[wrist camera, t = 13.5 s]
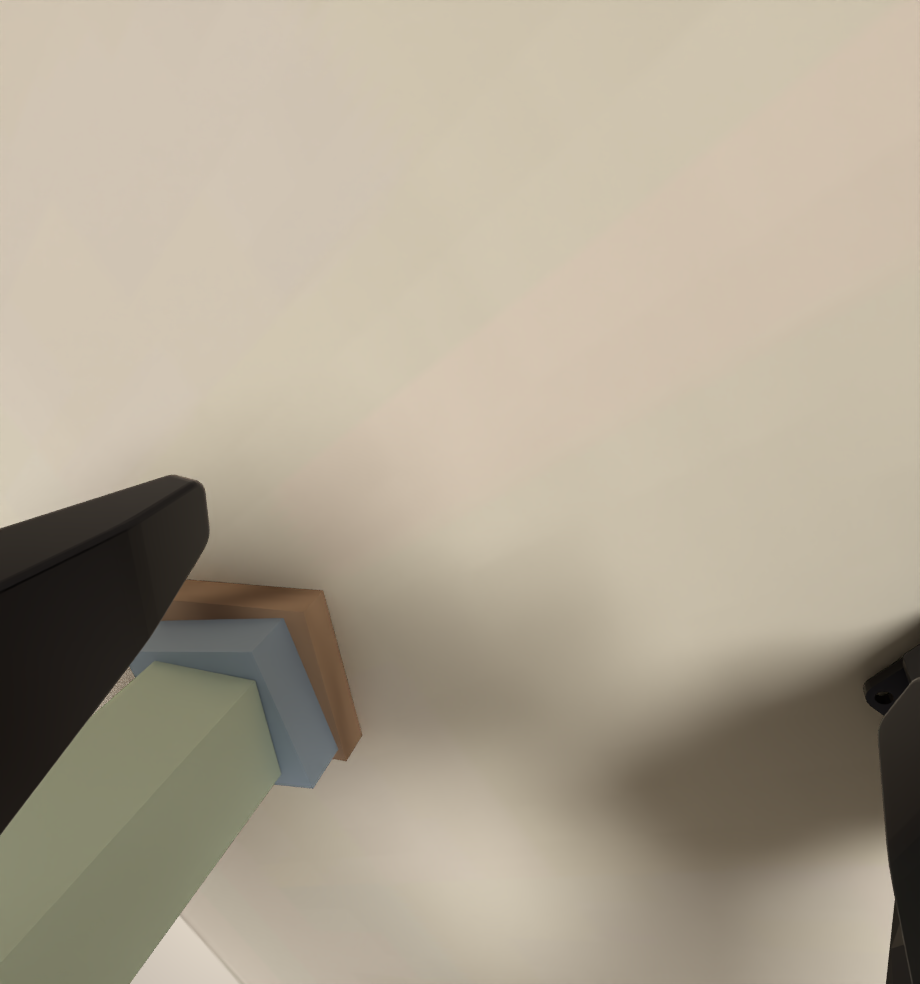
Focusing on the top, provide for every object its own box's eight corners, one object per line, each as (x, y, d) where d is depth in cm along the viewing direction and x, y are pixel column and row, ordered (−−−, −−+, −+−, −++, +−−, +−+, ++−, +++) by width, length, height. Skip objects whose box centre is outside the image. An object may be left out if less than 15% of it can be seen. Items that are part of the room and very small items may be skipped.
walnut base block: (330, 582, 28) (303, 612, 26) (368, 725, 31) (346, 761, 30) (184, 572, 31) (150, 598, 29) (232, 704, 34) (204, 735, 32)
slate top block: (283, 617, 27) (251, 652, 25) (338, 748, 29) (313, 788, 28) (158, 620, 30) (121, 651, 28) (218, 739, 32) (188, 775, 30)
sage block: (255, 680, 26) (-11, 974, 16) (281, 774, 28) (59, 1081, 19) (154, 660, 27) (-136, 916, 18) (186, 749, 30) (-60, 1019, 20)
